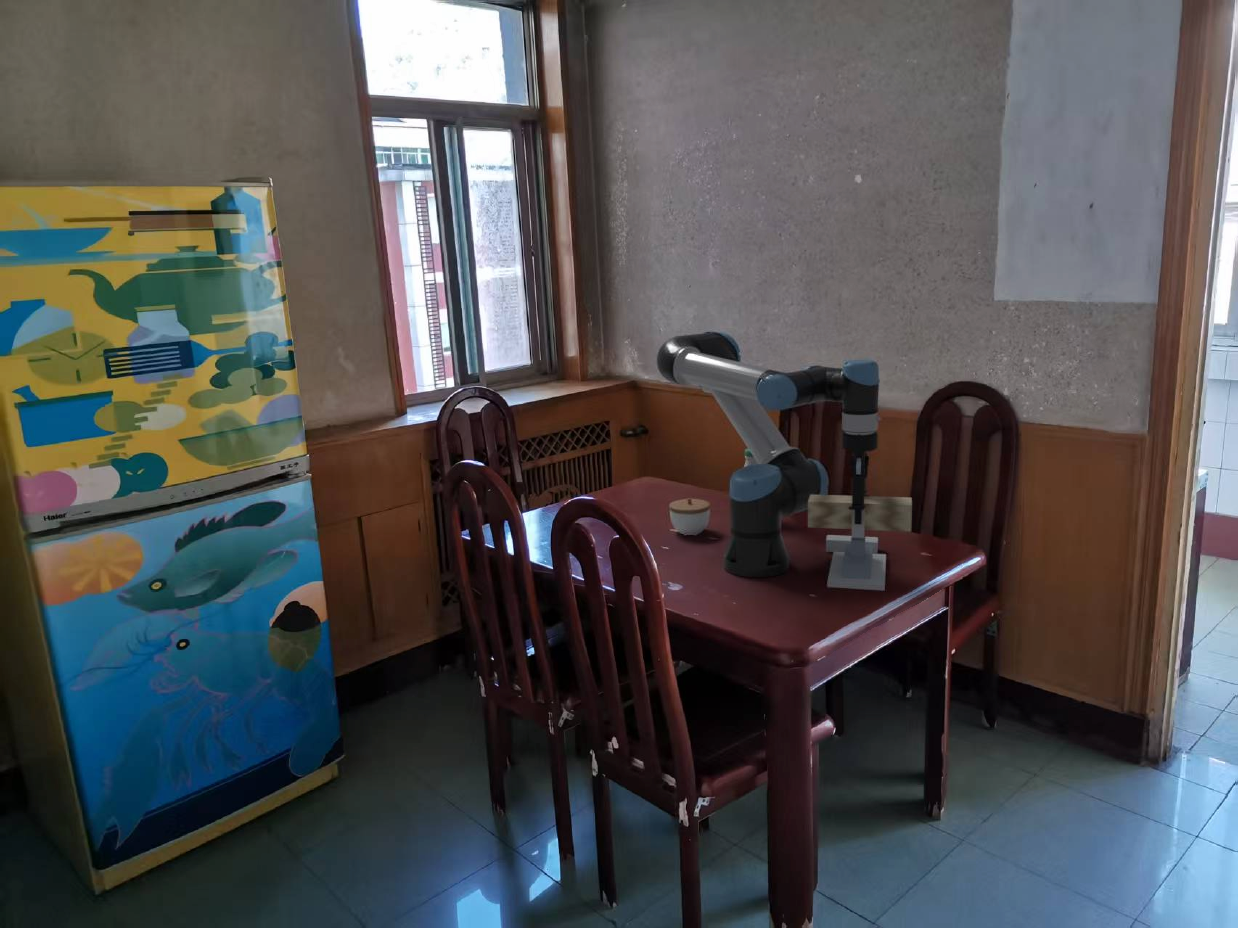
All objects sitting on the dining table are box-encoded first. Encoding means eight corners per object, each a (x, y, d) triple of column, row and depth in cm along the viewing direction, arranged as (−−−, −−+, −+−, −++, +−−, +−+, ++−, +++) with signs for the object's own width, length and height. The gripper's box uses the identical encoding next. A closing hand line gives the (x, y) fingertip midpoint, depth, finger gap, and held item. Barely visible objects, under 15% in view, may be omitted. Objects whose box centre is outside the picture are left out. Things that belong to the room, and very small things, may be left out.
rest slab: (826, 551, 214) (826, 540, 213) (827, 546, 217) (827, 534, 217) (877, 554, 210) (877, 542, 209) (877, 549, 214) (878, 537, 213)
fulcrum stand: (827, 586, 192) (827, 551, 190) (833, 556, 210) (833, 523, 208) (884, 590, 188) (885, 554, 186) (885, 559, 207) (886, 525, 205)
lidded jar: (709, 538, 228) (708, 504, 225) (668, 538, 229) (667, 504, 227) (711, 526, 238) (710, 492, 236) (672, 526, 240) (671, 492, 237)
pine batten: (807, 527, 197) (807, 501, 196) (810, 519, 203) (810, 494, 201) (911, 531, 190) (911, 505, 189) (910, 523, 196) (911, 497, 195)
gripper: (876, 440, 182) (874, 546, 187) (878, 423, 199) (877, 520, 205) (839, 440, 184) (838, 545, 189) (844, 422, 201) (843, 519, 207)
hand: (858, 532), depth 197 cm, fingers closed on pine batten, 6 cm apart
